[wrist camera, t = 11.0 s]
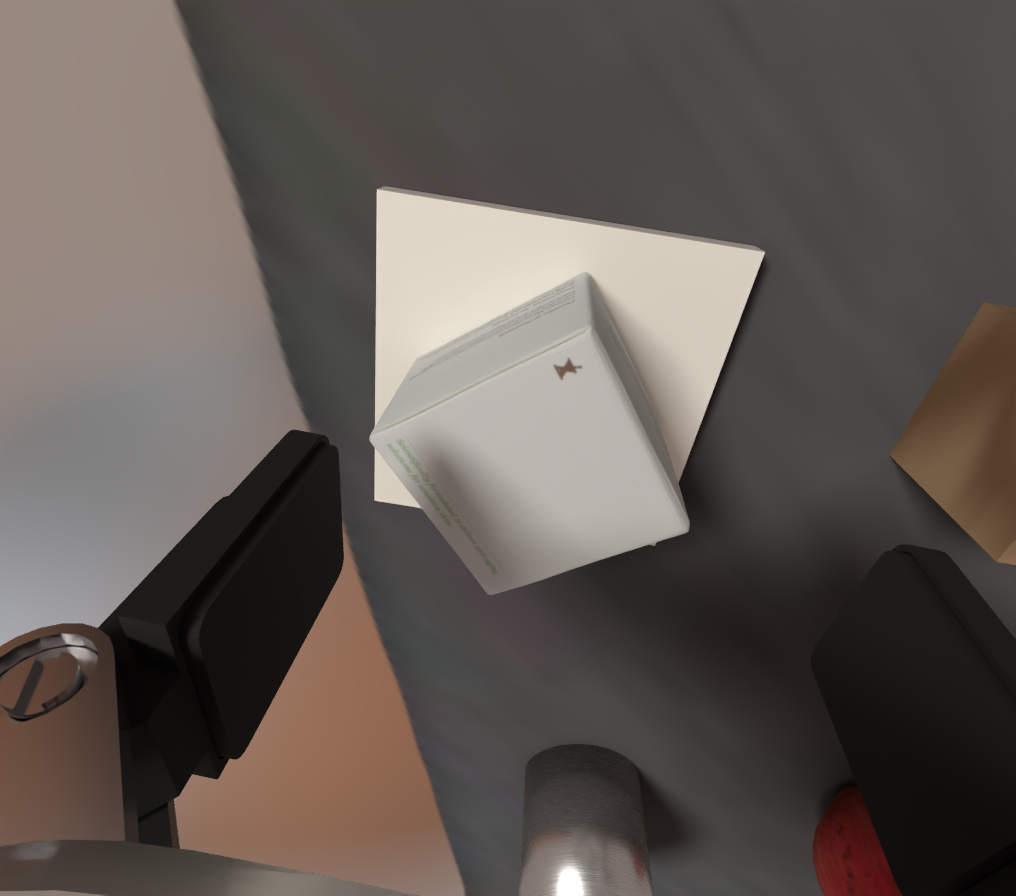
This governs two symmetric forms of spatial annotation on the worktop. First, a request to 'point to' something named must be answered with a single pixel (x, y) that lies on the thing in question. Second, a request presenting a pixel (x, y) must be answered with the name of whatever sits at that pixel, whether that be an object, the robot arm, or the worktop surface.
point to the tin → (583, 825)
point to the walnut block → (971, 434)
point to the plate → (541, 267)
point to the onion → (850, 851)
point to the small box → (534, 442)
